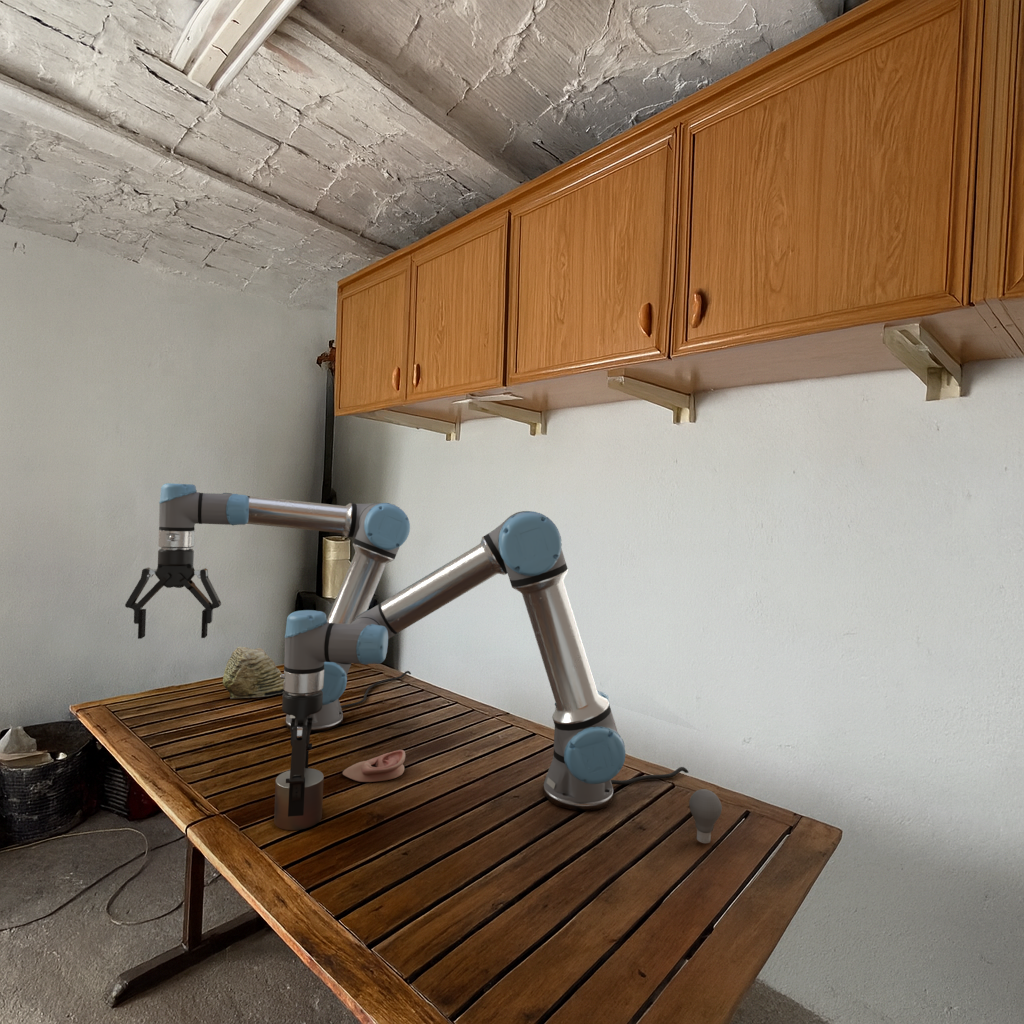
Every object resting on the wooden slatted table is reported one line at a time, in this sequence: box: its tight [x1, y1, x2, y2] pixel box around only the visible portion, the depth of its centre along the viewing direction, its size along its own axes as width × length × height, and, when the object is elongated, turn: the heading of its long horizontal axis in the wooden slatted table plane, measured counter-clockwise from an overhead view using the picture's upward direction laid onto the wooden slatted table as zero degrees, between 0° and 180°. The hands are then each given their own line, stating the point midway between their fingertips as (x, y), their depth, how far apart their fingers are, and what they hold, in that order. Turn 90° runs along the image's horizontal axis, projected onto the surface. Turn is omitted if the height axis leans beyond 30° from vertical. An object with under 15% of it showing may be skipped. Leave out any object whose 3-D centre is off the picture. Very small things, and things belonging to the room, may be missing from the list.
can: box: [273, 767, 325, 831], centre depth 124 cm, size 9×9×8 cm
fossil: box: [222, 646, 285, 699], centre depth 198 cm, size 9×18×15 cm, turn 132°
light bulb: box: [688, 788, 723, 844], centre depth 122 cm, size 6×6×10 cm
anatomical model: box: [342, 749, 406, 783], centre depth 146 cm, size 13×4×12 cm
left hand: (173, 637), depth 151 cm, fingers open, 13 cm apart
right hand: (298, 798), depth 124 cm, fingers open, 13 cm apart
